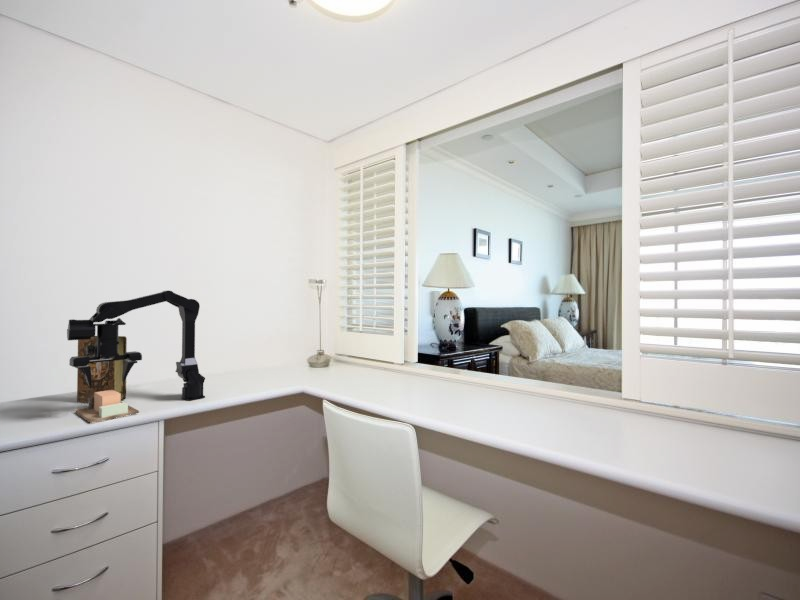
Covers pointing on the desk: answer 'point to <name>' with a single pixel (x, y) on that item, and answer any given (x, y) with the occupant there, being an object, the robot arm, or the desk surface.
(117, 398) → the peach rectangular block
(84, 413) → the shelf board
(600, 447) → the desk surface
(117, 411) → the pale green rectangular block
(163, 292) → the robot arm
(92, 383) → the book
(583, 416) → the desk surface
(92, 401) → the bookend
